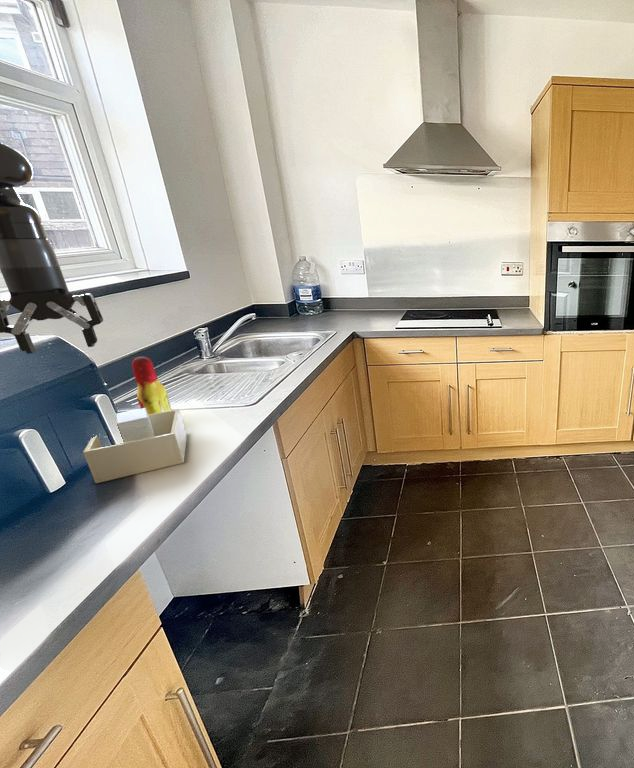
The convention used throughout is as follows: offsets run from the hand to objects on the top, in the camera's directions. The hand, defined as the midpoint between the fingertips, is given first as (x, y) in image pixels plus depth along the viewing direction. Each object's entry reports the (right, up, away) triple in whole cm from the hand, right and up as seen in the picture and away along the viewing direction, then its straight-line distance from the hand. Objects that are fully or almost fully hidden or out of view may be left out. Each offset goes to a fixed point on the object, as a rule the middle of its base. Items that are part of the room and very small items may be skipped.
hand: (62, 349), depth 82 cm
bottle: (-13, -18, +38) cm, 44 cm away
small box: (-1, -24, +20) cm, 31 cm away
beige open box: (-1, -25, +20) cm, 32 cm away
